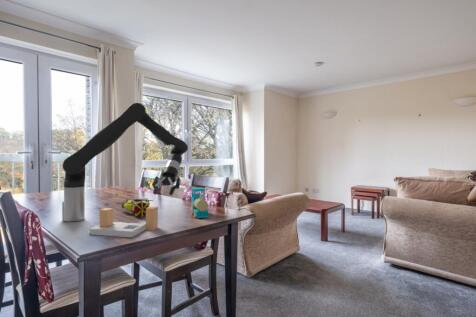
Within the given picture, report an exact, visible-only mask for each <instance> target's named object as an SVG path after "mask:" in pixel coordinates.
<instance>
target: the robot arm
mask: <svg viewBox="0 0 476 317" xmlns="http://www.w3.org/2000/svg"><path fill="white" fill-rule="evenodd" d="M146 110H147V109H146V107H145V106H144V104H142V103H140V102H133V103H131V104H130V105H128V107H127V108H126V110H124V111H123V113H122V114H120V116H119V115H118V117H117V118H115V119H114V120H112V121H111V122H109V123H108V124H107V125H105V126H104V127H102V128H101V129H100V130H99V131H98V132H97V133H96V134H94V135H93V136H92V137H91V138H90V139H88V141H87V142H86V143H85V144H84V145H83V146H81V148H80V149H78V150H77V151H76V152H74V153H72V154H71V155H70V156H68V157H66V158H65V159H64V160H63V162H62V168H63V170H64V174H65V175H64V176H65V177H64V182H63V201H62V202H61V206H62V207H61V212H62V214H61V218H62V219H61V220H62V221H64V222H69V223H70V222H71V223H72V222H78V221H79V222H80V221H83V220H85V217H86V216H85V212H86V211H85V210H86V209H85V208H86V207H85V206H86V205H85V204H86V203H85V202H86V201H85V200H86V199H85V197H86V196H85V194H86V192H85V189H86V188H85V186H86V184H85V183H86V166H87V165H88V163H90V162H91V160H93V159H94V158H95V157H97V156H99V154H101V153H103V152H104V151H106V150H107V149H108V148H110V147H111V146H112V145H113V144H114V143H116V142H117V141H118V140H119V139H120V138H122V136H123V135H124V133H126V131H127V130H128V129H129V128H130V127H131V126H132V125H134V124H135V123H138V124H140V125H142V126H143V127H145V128H146V129H147V130H149V132H151V134H153V135H154V136H155V137H156V138H157V139H158V140H159V141H160V142H161V143H163V144H164V145H165V146H170V145H171V146H172V147H171V149H170V153H169V158H168V161H167V163H166V164H165V167H164V170H163V172H162V175H161V177H158V176H155V178H154V180H153V182H152V183H151V186H152V188H153V190H152V191H153V194H154V195H157V193H158V190H159V188H162V187H163V186H164V187H165V186H168V187H169V186H171V187H170V190H169V192H168V193H169V196H173V194H174V192H175V191H176V190H178V189H179V188H180V185H181V182H182V181H181V178H180V176H178V173H179V171H180V166H181V164H182V160H183V157H182V155H184V154H185V153H187V151H188V150H189V149H188V148H189V146H188V144H187V143H186V142H185V141H184V140H182V139H181V138H178V137H177V136H175V135H173V134H172V133H171V132H170V131H169V130H167V128H165V127H164V126H162V125H160V123H158V122H156V120H154V119H153V118H152V117H151V116H150V115H149V114H148V112H147V111H146ZM177 176H178V177H177ZM175 182H176V183H175Z"/></svg>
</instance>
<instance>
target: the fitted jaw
mask: <svg viewBox="0 0 476 317" xmlns="http://www.w3.org/2000/svg"><path fill="white" fill-rule="evenodd" d="M113 222H114V208H113V207H112V208H111V207H110V208H109V207H104V208H101V209H99V224H100V227H110V226H113Z"/></svg>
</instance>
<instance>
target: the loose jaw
mask: <svg viewBox="0 0 476 317" xmlns="http://www.w3.org/2000/svg"><path fill="white" fill-rule="evenodd" d="M158 221H159V207H158V206H150V205H149V207H148V208H146V215H145V224H146V230H150V231H155V230H156V229H158V227H159V222H158Z"/></svg>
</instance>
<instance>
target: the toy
mask: <svg viewBox="0 0 476 317" xmlns="http://www.w3.org/2000/svg"><path fill="white" fill-rule="evenodd" d="M121 200H123V201H126V202H122V203H121V208H122V209H126V210H129V211H133V212H134V216H135V217H137V216H138V217H140V218H143V217H145V216H146V208H148V207H150V205H151V202H154V199H149V197H147V198H146V197H145V198H142V197H141V198H121Z"/></svg>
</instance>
